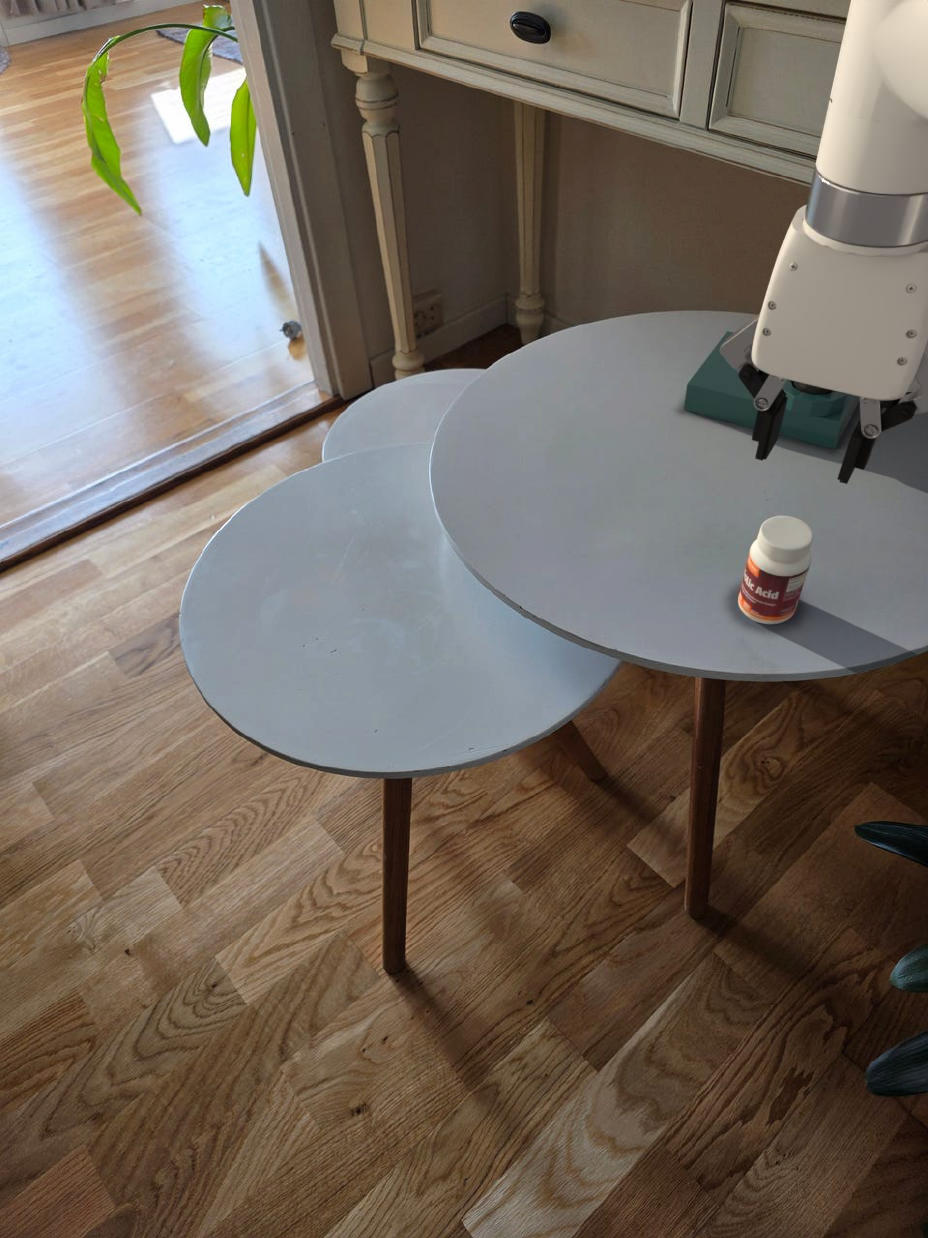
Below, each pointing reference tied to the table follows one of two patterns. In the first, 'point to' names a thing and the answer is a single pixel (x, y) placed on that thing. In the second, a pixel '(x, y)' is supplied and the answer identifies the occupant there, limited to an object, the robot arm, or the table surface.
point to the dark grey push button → (810, 389)
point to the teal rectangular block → (731, 401)
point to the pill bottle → (776, 570)
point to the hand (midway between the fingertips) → (806, 458)
